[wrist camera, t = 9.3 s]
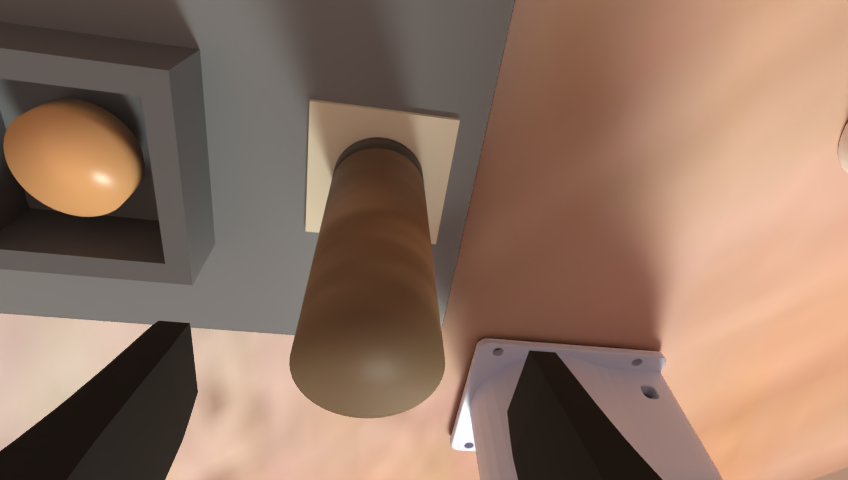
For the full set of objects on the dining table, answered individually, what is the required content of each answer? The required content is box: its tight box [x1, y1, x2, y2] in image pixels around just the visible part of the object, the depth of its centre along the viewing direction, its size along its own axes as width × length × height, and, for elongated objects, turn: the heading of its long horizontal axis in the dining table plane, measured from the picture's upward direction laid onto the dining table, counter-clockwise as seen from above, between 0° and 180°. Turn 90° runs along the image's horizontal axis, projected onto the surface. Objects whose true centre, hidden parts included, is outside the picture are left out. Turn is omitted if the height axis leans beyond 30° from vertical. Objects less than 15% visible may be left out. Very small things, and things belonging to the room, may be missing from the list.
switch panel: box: [0, 0, 515, 335], centre depth 17 cm, size 20×15×4 cm
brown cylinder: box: [290, 137, 445, 418], centre depth 14 cm, size 3×3×9 cm
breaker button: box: [3, 98, 145, 217], centre depth 16 cm, size 4×4×1 cm
